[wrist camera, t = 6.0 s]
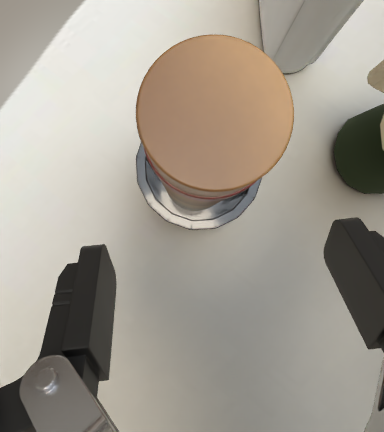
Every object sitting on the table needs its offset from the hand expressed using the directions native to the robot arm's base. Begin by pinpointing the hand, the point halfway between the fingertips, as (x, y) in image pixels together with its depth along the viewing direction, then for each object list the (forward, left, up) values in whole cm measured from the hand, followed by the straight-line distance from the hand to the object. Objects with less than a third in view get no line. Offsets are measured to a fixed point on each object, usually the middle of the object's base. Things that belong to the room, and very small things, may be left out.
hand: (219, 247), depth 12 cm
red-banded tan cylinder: (-1, -4, -13) cm, 13 cm away
